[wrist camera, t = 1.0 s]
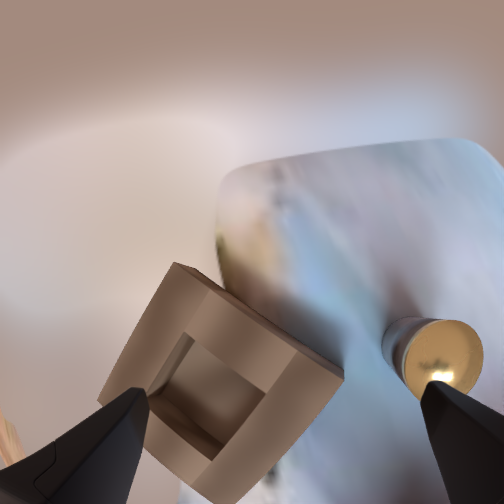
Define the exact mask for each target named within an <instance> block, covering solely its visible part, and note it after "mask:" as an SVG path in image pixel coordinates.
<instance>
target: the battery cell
mask: <svg viewBox="0 0 504 504" xmlns="http://www.w3.org/2000/svg"><path fill="white" fill-rule="evenodd" d="M382 354H383V357H384V359H385V361H386V362H387V364H388V365H389V366H390V367H391V368H392V369H393V371H394V372H395V373H396V374H397V375H398V377H399V378H400V379H401V380H402V381H403V383H404V384H405V385H406V386H407V388H408V389H409V390H410V391H411V392H412V394H413V395H414V396H415V397H416V398H417V399H418V400H420V401H421V397H422V395H423V393H424V390H425V387H426V385H427V383H428V382H429V381H433V380H441V381H443V382H445V383H446V384H448V385H450V386H452V387H453V388H455V389H457V390H459V391H460V392H462V393H464V394H467V393H468V392H469V391H470V390H471V389H472V388H473V386H474V385H475V383H476V381H477V380H478V378H479V375H480V373H481V369H482V365H483V348H482V344H481V340H480V338H479V336H478V335H477V333H476V332H475V331H474V330H473V328H471V327H470V326H469V325H467V324H466V323H463V322H461V321H456V320H444V319H431V318H418V317H405V318H401V319H399V320H397V321H395V322H394V323H393V324H391V325H390V327H389V328H388V329H387V330H386V332H385V334H384V337H383V340H382Z"/></svg>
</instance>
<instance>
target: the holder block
mask: <svg viewBox="0 0 504 504" xmlns="http://www.w3.org/2000/svg"><path fill="white" fill-rule="evenodd" d="M343 382H344V370H343V369H341V368H340V367H338V366H337V365H335V364H333V363H332V362H330V361H329V360H327V359H326V358H324V357H323V356H321V355H320V354H318V353H316V352H315V351H313V350H312V349H310V348H309V347H307V346H306V345H304V344H303V343H301V342H300V341H298V340H297V339H295V338H294V337H292V336H291V335H289V334H288V333H286V332H285V331H283V330H282V329H280V328H279V327H278V326H276V325H275V324H273V323H272V322H270V321H269V320H267V319H266V318H264V317H263V316H261V315H260V314H259V313H257V312H256V311H254V310H253V309H251V308H250V307H248V306H247V305H246V304H244V303H243V302H241V301H240V300H238V299H237V298H236V297H234V296H233V295H231V294H230V293H229V292H227V291H226V290H224V289H223V288H222V287H220V286H219V285H217V284H216V283H215V282H213V281H212V280H210V279H209V278H208V277H206V276H205V275H203V274H202V273H201V272H199V271H198V270H197V269H195V268H192V267H189V266H185V265H182V264H179V263H176V262H173V264H172V266H171V267H170V269H169V271H168V272H167V274H166V275H165V277H164V279H163V281H162V282H161V284H160V286H159V287H158V289H157V291H156V293H155V294H154V296H153V298H152V299H151V301H150V303H149V305H148V306H147V308H146V310H145V312H144V313H143V315H142V317H141V319H140V320H139V322H138V324H137V326H136V327H135V329H134V331H133V333H132V335H131V337H130V338H129V340H128V342H127V344H126V346H125V347H124V349H123V351H122V353H121V355H120V357H119V359H118V360H117V363H116V364H115V366H114V368H113V370H112V372H111V374H110V376H109V378H108V379H107V382H106V383H105V386H104V387H103V389H102V391H101V393H100V395H99V397H98V399H97V401H98V402H99V403H100V404H101V405H102V406H105V405H106V404H108V403H109V402H110V401H112V400H113V399H115V398H116V397H117V396H119V395H120V394H122V393H123V392H124V391H126V390H127V389H129V388H130V387H140V388H144V390H145V392H146V395H147V399H148V403H149V407H150V413H149V418H148V423H147V428H146V433H145V439H144V444H143V447H144V448H145V449H146V450H147V451H148V452H149V453H150V454H151V455H152V456H154V457H155V458H156V459H157V460H158V461H159V462H160V463H162V464H163V465H164V466H165V467H166V468H168V469H169V470H170V471H171V472H172V473H173V474H175V475H176V476H177V477H178V478H180V479H181V480H182V481H183V482H185V483H186V484H187V485H189V486H190V487H191V488H193V489H194V490H195V491H197V492H198V493H199V494H201V495H202V496H203V497H205V498H206V499H208V500H209V501H210V502H212V503H213V504H236V503H237V502H238V501H239V500H240V499H241V498H242V497H243V496H244V495H245V494H246V493H247V492H248V491H249V490H250V489H251V488H252V487H253V486H254V485H255V484H256V483H257V482H258V481H259V480H260V479H261V478H262V477H263V476H264V475H265V474H266V473H267V472H268V471H269V470H270V469H271V468H272V467H273V466H274V465H275V464H276V463H277V462H278V461H279V459H280V458H281V457H282V456H283V455H284V454H285V453H286V452H287V451H288V450H289V448H290V447H291V446H292V445H293V444H294V443H295V442H296V441H297V439H298V438H299V437H300V436H301V435H302V434H303V432H304V431H305V430H306V429H307V428H308V426H309V425H310V424H311V423H312V422H313V420H314V419H315V418H316V417H317V415H318V414H319V413H320V412H321V410H322V409H323V408H324V407H325V405H326V404H327V403H328V401H329V400H330V399H331V398H332V396H333V395H334V394H335V392H336V391H337V390H338V388H339V387H340V386H341V384H342V383H343Z"/></svg>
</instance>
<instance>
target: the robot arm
mask: <svg viewBox="0 0 504 504" xmlns="http://www.w3.org/2000/svg"><path fill="white" fill-rule="evenodd" d="M420 406H421V410H422V413H423V417H424V421H425V425H426V429H427V433H428V437H429V440H430V443H431V446H432V449H433V452H434V455H435V458H436V460H437V463H438V466H439V469H440V472H441V475H442V478H443V481H444V484H445V487H446V490H447V494H448V497H449V500H450V503H451V504H504V416H503V415H502V414H500V413H498V412H496V411H494V410H493V409H491V408H489V407H487V406H485V405H484V404H482V403H480V402H478V401H476V400H475V399H473V398H471V397H469V396H468V395H466V394H464V393H462V392H460V391H459V390H457V389H455V388H453V387H452V386H450V385H448V384H446V383H445V382H443V381H441V380H433V381H429V382H428V383H427V385H426V387H425V390H424V393H423V395H422V397H421V401H420ZM149 413H150V407H149V403H148V399H147V395H146V392H145V390H144V388H140V387H130V388H129V389H127V390H126V391H124V392H123V393H122V394H120V395H119V396H117V397H116V398H115V399H113V400H112V401H110V402H109V403H108V404H106V405H105V406H103V407H102V408H101V409H99V410H98V411H96V412H95V413H93V414H92V415H91V416H89V417H88V418H86V419H85V420H83V421H82V422H80V423H79V424H78V425H76V426H75V427H73V428H72V429H70V430H69V431H67V432H66V433H64V434H63V435H62V436H60V437H59V438H57V439H56V440H55V441H53V442H51V443H50V444H48V445H47V446H45V447H43V448H42V449H41V450H39V451H37V452H35V453H34V454H32V455H30V456H28V457H26V458H25V459H23V460H21V461H19V462H17V463H15V464H13V465H11V466H9V467H6V468H4V469H2V470H0V504H126V501H127V498H128V495H129V491H130V488H131V485H132V482H133V479H134V475H135V473H136V469H137V466H138V463H139V460H140V457H141V453H142V449H143V444H144V439H145V433H146V428H147V423H148V418H149Z"/></svg>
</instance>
